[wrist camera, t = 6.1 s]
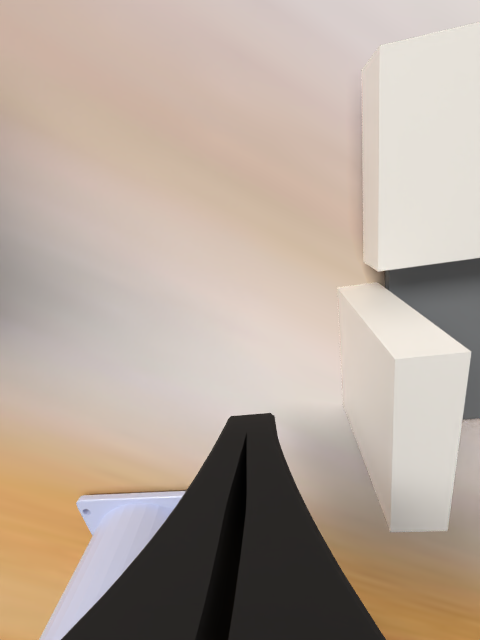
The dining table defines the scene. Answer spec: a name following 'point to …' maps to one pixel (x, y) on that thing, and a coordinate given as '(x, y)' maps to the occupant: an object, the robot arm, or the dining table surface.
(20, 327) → the dining table surface
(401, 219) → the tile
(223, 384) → the dining table surface
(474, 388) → the mat
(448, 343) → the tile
